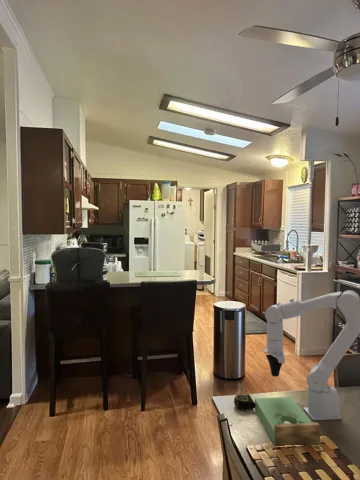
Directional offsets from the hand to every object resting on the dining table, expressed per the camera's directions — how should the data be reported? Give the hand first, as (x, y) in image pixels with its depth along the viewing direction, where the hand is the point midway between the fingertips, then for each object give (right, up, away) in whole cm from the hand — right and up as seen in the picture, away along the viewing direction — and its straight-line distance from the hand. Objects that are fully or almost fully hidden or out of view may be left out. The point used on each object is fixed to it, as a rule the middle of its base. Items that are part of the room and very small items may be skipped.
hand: (275, 375), depth 122 cm
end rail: (-1, -10, -25) cm, 27 cm away
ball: (-2, -8, -19) cm, 21 cm away
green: (-1, -10, -14) cm, 18 cm away
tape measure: (-11, -11, -1) cm, 16 cm away
